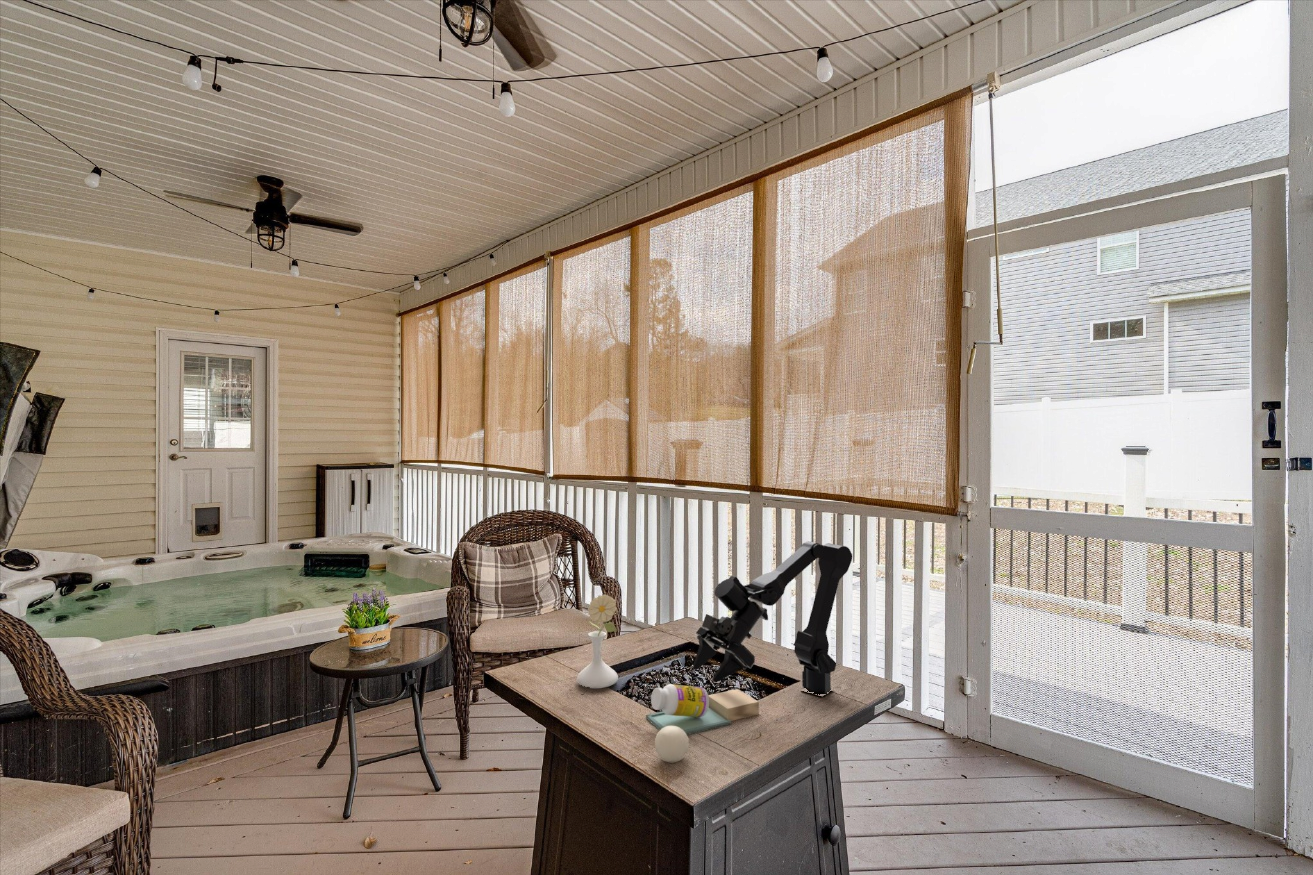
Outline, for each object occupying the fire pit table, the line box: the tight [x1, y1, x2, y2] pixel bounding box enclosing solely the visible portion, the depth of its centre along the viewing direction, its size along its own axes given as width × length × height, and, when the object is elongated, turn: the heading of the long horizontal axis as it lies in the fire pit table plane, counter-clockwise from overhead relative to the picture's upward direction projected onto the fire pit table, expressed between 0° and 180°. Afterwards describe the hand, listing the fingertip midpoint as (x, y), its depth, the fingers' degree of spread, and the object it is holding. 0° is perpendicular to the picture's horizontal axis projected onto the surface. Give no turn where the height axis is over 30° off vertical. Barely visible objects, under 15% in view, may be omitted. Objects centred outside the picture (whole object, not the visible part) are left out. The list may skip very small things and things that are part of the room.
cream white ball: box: [654, 726, 690, 763], centre depth 127 cm, size 7×7×7 cm
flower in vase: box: [576, 593, 619, 689], centre depth 168 cm, size 13×11×25 cm
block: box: [708, 688, 760, 722], centre depth 151 cm, size 9×9×3 cm
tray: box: [645, 707, 731, 736], centre depth 145 cm, size 16×12×1 cm
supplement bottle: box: [650, 683, 709, 717], centre depth 144 cm, size 7×7×13 cm
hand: (703, 675), depth 147 cm, fingers open, 9 cm apart
